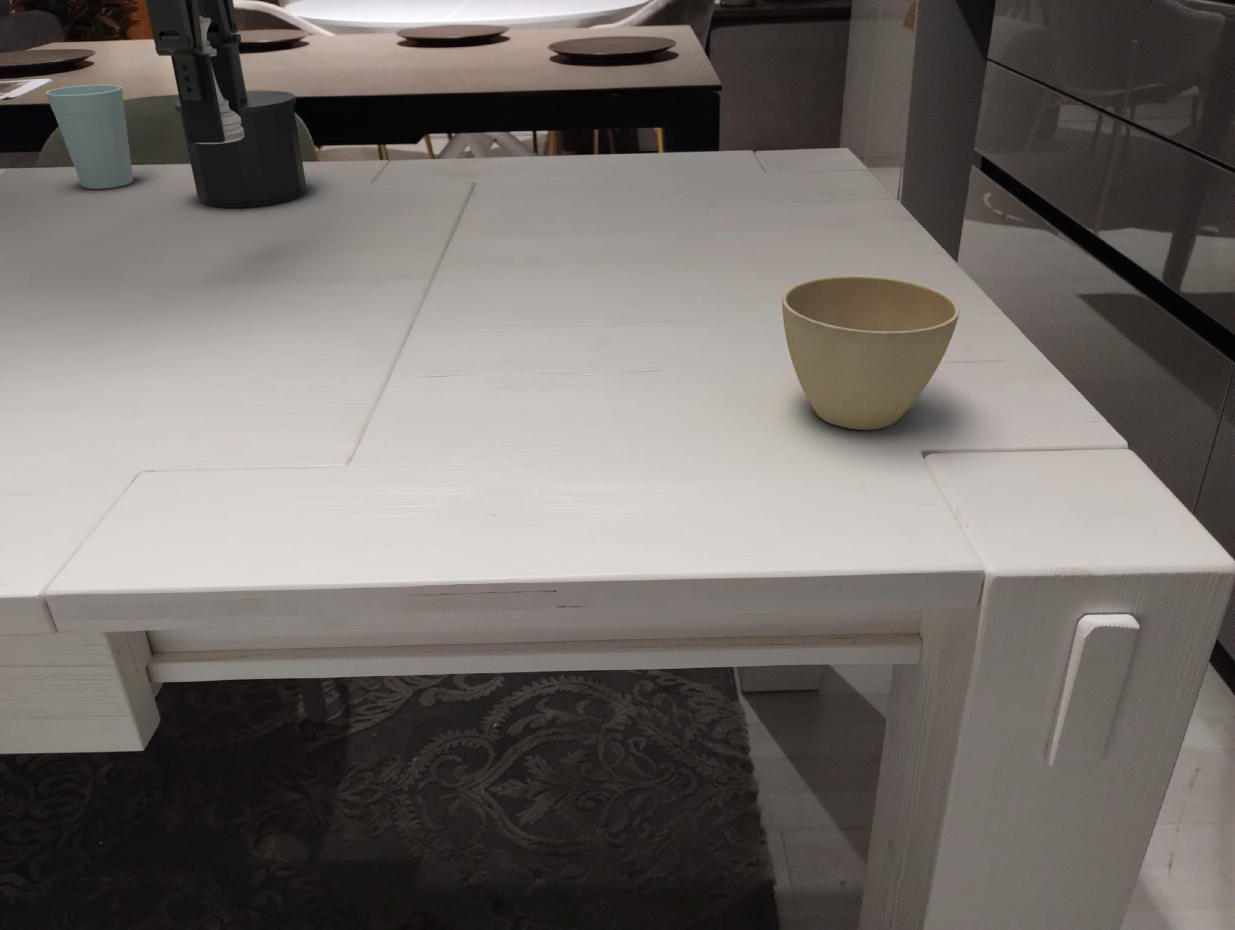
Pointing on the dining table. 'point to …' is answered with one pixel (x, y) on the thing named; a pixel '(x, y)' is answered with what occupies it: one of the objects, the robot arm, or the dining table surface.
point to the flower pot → (866, 345)
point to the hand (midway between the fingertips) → (217, 134)
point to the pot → (251, 163)
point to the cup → (94, 133)
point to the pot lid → (254, 93)
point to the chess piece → (228, 117)
